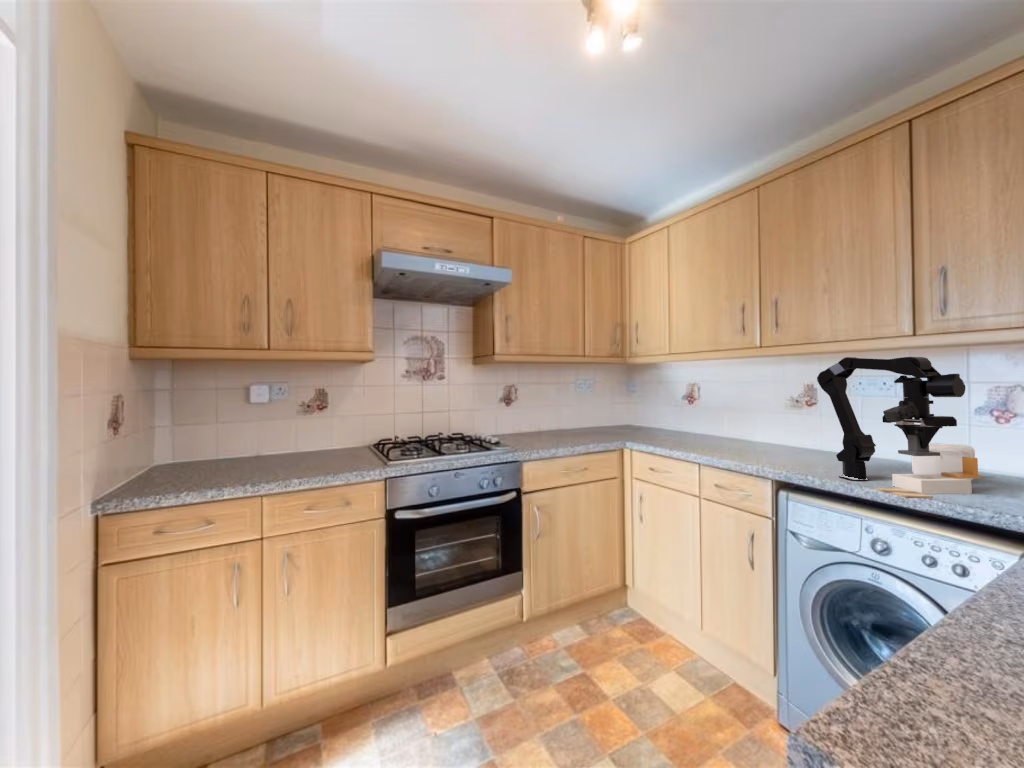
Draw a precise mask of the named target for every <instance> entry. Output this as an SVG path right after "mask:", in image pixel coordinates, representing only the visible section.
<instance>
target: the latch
mask: <svg viewBox="0 0 1024 768" xmlns="http://www.w3.org/2000/svg"><path fill="white" fill-rule="evenodd" d="M978 460H979V459H978V457H975V458H973V457H962V467H963V472H941V475H944V476H949V477H954V478H974V479H982V478H983V475H982V474H979V464H978V462H979V461H978Z"/></svg>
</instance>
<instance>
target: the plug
mask: <svg viewBox="0 0 1024 768" xmlns="http://www.w3.org/2000/svg"><path fill="white" fill-rule="evenodd" d="M897 454H899V455H900V454H901V455H905V456H911V455H912V456H940V452H933V451H929V444H928V446H927V447H926V449H921V446H920V439H919V431H918V430H915V435H908V440H907V449H898V450H897ZM912 456H911V457H912Z"/></svg>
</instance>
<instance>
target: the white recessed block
mask: <svg viewBox="0 0 1024 768" xmlns="http://www.w3.org/2000/svg"><path fill="white" fill-rule="evenodd" d="M891 478H892V487H893V486H895V487H899V488H903V489H907V490H911V491H915V492H919V493H923V494H927V495H972V494H973V491H972V490H973V488H972V480H968V479H963V478H954V477H949V476H944V475H941V474H914V473H892V477H891Z"/></svg>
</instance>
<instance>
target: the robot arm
mask: <svg viewBox="0 0 1024 768" xmlns="http://www.w3.org/2000/svg"><path fill="white" fill-rule="evenodd" d="M857 369H858V370H859V369H860V370H861V369H862V370H873V371H874V370H875V371H888V372H892V373H894V374H898V375H899V377H898V378H896V379H895V380H894V381H893V383H894V384H902V393H903V394H902V397H903V398H902V399H903V400H899V402H898V405H897V406H894V407H891V408H888V409H884V410H883V416H882V418H881V419H882V423H885V424H886V423H887V424H891V423H896V424H893V425H894V427H897V428H899V429H900V430H902V432H903V434H904V435H905V438H906V440H907V441H908V435H915V430H918V431H919V439H920V446H921V449H926V447H927V446H928V444H929V443H931V441H932V439H933V438H934V437H935V435H937V432H939V430H940V429H943V427H958V421H957V418H956V417H954V416H950V415H947V416H945V415H935V414H934V413H931V410H930V405H934V400H930V395H931V397H933V398H962V397H963V396H964V395H965V392H966V385H965V382H964V380H963V379H962V378H961V377H960V375H961V374H960V373H947V374H941V373H940V372H939V371H938V370H937V369H936V368H935V367H934V366H933V365H932V362H931V361H930V360H929V358H928V357H924V356H904V357H895V358H890V359H888V358H886V359H885V358H865V357H864V358H861V357H860V358H859V357H855V356H847V357H844V358H842V359H840V360H839V361H838V362H837V363H834V364H833V365H831V366H829V367H828V368H826V369H825V370H822V371H820V372H819V374H818V375H817V376H816V381H817V383H818V385H819V386H820V389H822V390H823V391H824V392H825V393H826V394H827V395H828V397H829V398H830V401H831V403H832V406H833V408H834V409H833V410H834V411H835V414H836V417H837V420H838V422H839V425H840V426H841V428H842V432H843V437H842V450H840V451H839V452H838V453H837V454H836V455H835V456H836V458H837V461H838V462H842V475H843V474H844V475H845V476H848V477H854V478H858V479H866V478H867V467H866V462H870V460H871V458H872V456H873V455H874V454H875V452H876V448H875V447H876V446H877V444H876V443H875V442H874V439H873V436H872V435H871V434H865V433H864V432H863V431H862V429H861V428H860V427H861V426H860V424H859V422H858V420H857V417H856V415H855V412H854V410H853V407H852V405H851V403H850V399H849V397H848V395H847V389H848V383H847V381H848V380H847V379H848V378H849V377H851V376H852V375H853V373H854V372H855V370H857ZM908 376H913V377H908ZM923 379H927V380H923ZM916 423H917V424H916Z"/></svg>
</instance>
